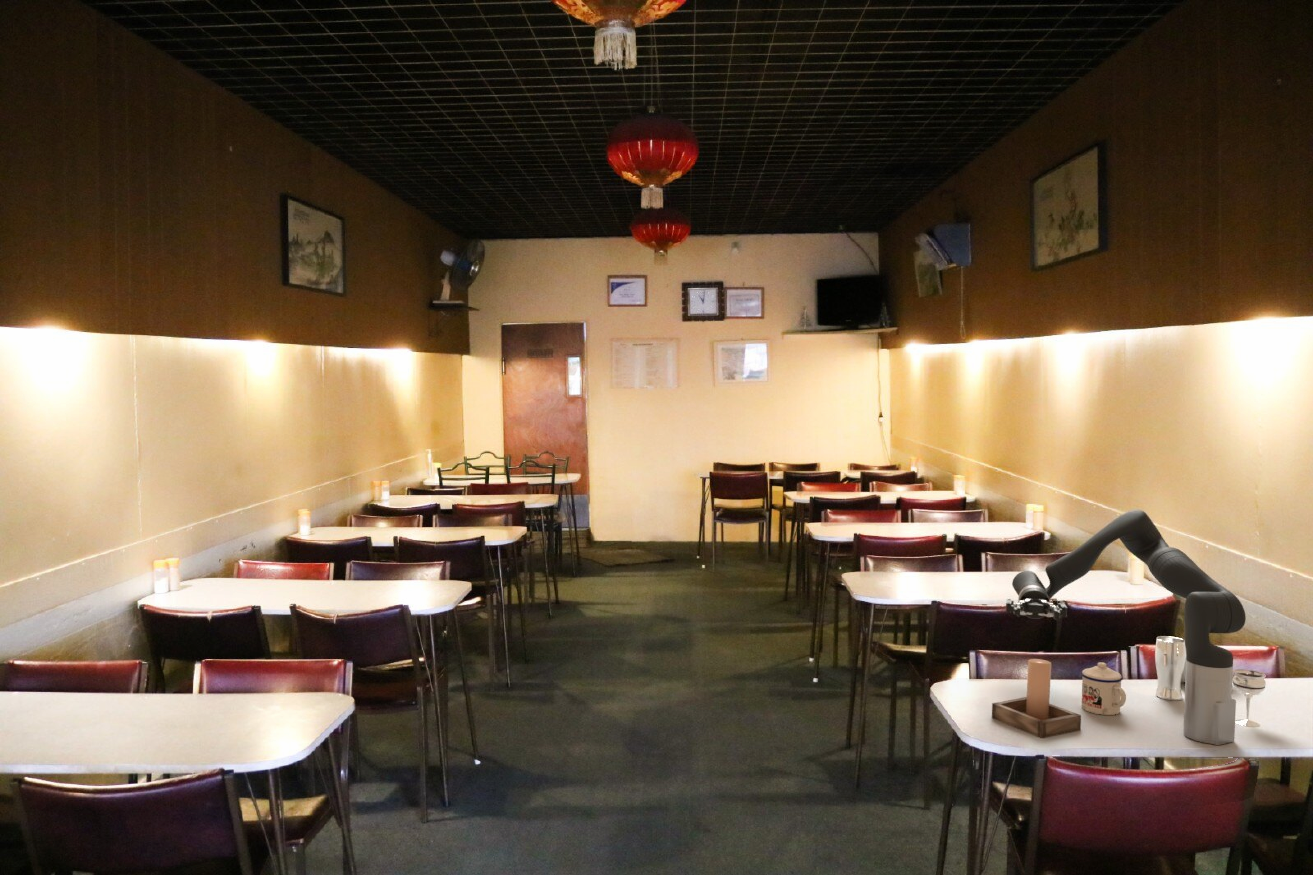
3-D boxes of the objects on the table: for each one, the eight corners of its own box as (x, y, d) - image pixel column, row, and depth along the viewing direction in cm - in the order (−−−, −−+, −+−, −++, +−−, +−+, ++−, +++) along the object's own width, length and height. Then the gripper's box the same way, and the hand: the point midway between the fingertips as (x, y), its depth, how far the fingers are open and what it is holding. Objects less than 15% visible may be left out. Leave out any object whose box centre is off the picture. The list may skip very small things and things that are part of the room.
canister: (1052, 722, 226) (1056, 663, 226) (1037, 725, 224) (1040, 665, 223) (1036, 716, 231) (1039, 658, 230) (1020, 718, 228) (1023, 659, 228)
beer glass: (1177, 693, 251) (1179, 636, 250) (1189, 701, 244) (1191, 643, 243) (1149, 692, 252) (1151, 635, 251) (1160, 700, 245) (1162, 642, 244)
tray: (1080, 730, 223) (1081, 715, 223) (1042, 738, 218) (1042, 723, 217) (1029, 710, 236) (1029, 696, 236) (991, 717, 231) (992, 703, 231)
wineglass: (1270, 725, 227) (1272, 675, 227) (1254, 730, 224) (1256, 679, 224) (1240, 716, 233) (1242, 667, 233) (1224, 721, 230) (1226, 671, 229)
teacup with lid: (1072, 705, 240) (1073, 659, 240) (1101, 702, 243) (1103, 656, 243) (1108, 721, 229) (1110, 673, 228) (1139, 717, 232) (1140, 670, 231)
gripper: (1005, 585, 254) (1006, 596, 239) (1063, 589, 249) (1069, 601, 234) (1004, 613, 254) (1006, 626, 239) (1063, 617, 250) (1068, 631, 234)
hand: (1037, 614), depth 236 cm, fingers open, 8 cm apart
